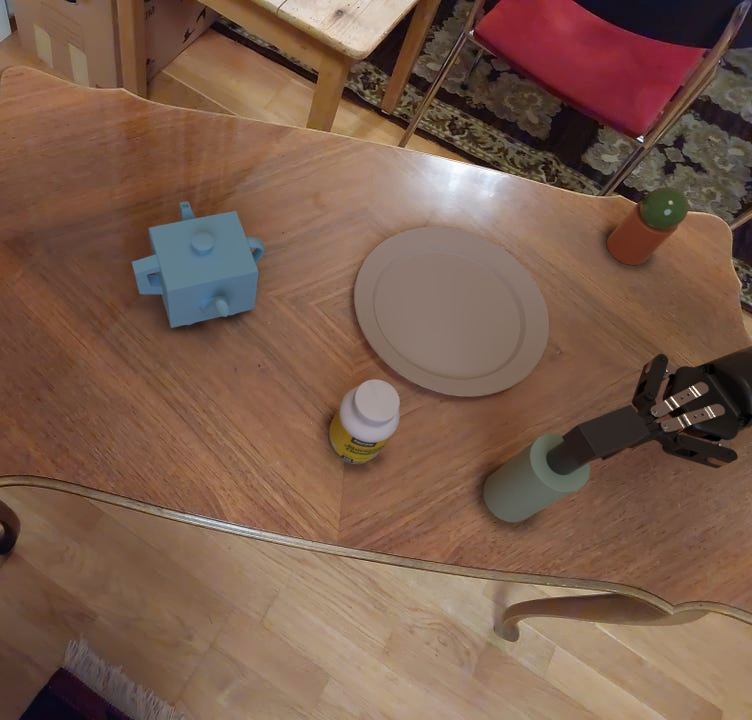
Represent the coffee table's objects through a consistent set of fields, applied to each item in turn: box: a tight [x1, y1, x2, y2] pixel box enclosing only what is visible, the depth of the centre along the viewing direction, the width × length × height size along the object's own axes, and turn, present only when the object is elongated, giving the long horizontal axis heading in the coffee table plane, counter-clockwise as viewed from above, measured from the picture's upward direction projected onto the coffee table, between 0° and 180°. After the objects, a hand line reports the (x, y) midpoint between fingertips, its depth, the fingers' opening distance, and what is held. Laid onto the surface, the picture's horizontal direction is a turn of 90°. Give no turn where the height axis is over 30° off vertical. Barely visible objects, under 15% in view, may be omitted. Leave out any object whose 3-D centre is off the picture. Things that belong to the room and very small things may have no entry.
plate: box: [353, 226, 550, 397], centre depth 85 cm, size 26×26×2 cm
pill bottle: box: [327, 378, 401, 465], centre depth 72 cm, size 6×6×12 cm
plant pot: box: [606, 186, 690, 266], centre depth 89 cm, size 6×6×11 cm
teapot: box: [131, 200, 266, 329], centre depth 79 cm, size 16×18×11 cm
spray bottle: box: [482, 404, 650, 523], centre depth 67 cm, size 8×6×20 cm
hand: (620, 437), depth 65 cm, fingers closed
